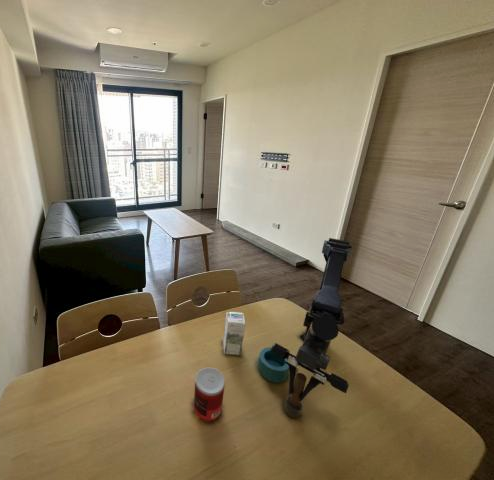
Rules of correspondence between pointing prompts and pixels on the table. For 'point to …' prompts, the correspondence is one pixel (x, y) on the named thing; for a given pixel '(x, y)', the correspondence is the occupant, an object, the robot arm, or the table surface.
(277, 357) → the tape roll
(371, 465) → the table surface
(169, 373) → the table surface
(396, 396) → the table surface
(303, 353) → the robot arm
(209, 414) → the canned food
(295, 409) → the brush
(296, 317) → the table surface
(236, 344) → the syrup box
